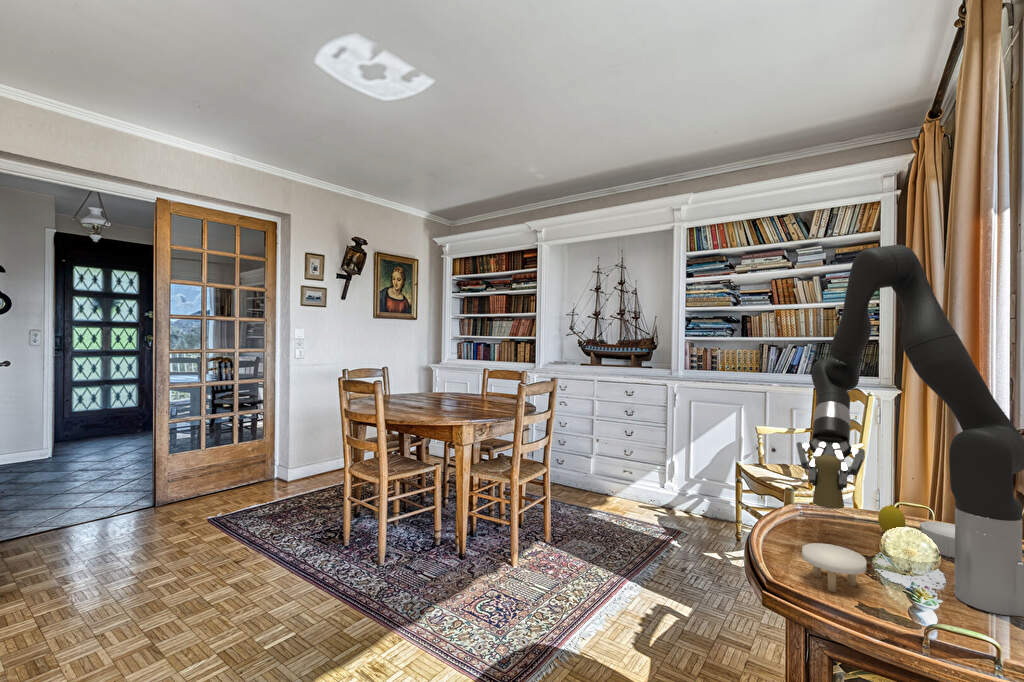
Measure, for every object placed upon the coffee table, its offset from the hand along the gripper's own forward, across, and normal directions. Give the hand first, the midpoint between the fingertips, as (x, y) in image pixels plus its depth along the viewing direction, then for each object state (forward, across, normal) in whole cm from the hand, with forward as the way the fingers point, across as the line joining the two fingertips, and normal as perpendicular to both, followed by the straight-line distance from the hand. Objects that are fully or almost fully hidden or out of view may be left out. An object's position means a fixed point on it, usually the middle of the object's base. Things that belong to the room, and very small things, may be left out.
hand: (827, 485), depth 111 cm
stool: (+20, +2, +5) cm, 20 cm away
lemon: (-8, +12, +33) cm, 36 cm away
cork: (+2, 0, +5) cm, 5 cm away
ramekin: (-6, +23, +31) cm, 39 cm away
